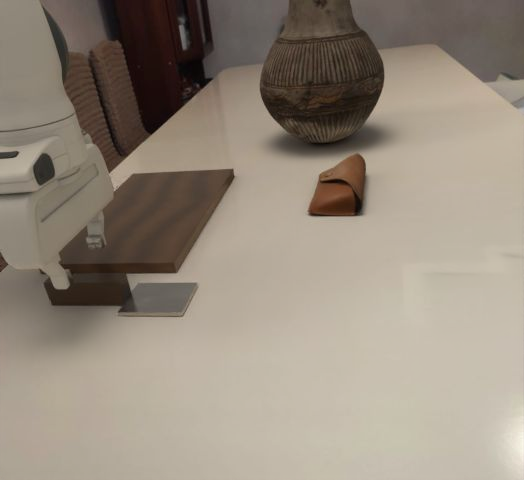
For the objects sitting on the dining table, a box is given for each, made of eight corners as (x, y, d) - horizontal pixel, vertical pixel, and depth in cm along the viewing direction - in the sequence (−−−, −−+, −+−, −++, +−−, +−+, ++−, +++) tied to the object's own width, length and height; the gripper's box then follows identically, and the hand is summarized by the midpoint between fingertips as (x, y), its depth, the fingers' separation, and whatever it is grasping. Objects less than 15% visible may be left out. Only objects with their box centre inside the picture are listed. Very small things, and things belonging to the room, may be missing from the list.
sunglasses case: (316, 173, 95) (335, 138, 90) (351, 191, 95) (371, 158, 91) (306, 213, 80) (327, 175, 76) (346, 235, 81) (369, 198, 77)
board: (40, 273, 74) (37, 264, 74) (134, 181, 103) (132, 173, 102) (176, 272, 71) (174, 262, 70) (234, 176, 99) (233, 168, 99)
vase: (286, 125, 125) (275, -31, 108) (391, 124, 117) (398, -45, 99) (248, 159, 107) (227, -21, 90) (370, 160, 99) (373, -38, 81)
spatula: (42, 315, 65) (33, 292, 63) (68, 286, 71) (60, 264, 69) (182, 316, 62) (176, 292, 60) (198, 285, 67) (193, 263, 65)
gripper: (60, 124, 65) (94, 230, 73) (-44, 184, 49) (15, 311, 57) (108, 120, 63) (137, 229, 71) (18, 180, 47) (68, 311, 55)
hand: (82, 266), depth 64 cm, fingers open, 8 cm apart
